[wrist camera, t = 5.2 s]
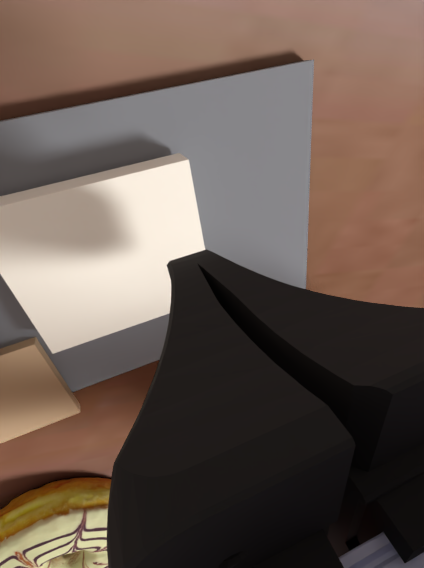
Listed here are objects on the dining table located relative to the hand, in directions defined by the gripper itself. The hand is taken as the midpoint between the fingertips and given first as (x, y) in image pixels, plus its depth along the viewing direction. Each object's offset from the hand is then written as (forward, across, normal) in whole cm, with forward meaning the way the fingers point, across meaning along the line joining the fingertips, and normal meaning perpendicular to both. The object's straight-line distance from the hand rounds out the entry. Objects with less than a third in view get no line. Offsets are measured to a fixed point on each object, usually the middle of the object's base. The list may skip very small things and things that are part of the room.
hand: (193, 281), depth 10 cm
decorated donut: (+5, +12, +19) cm, 23 cm away
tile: (+3, -1, 0) cm, 3 cm away
